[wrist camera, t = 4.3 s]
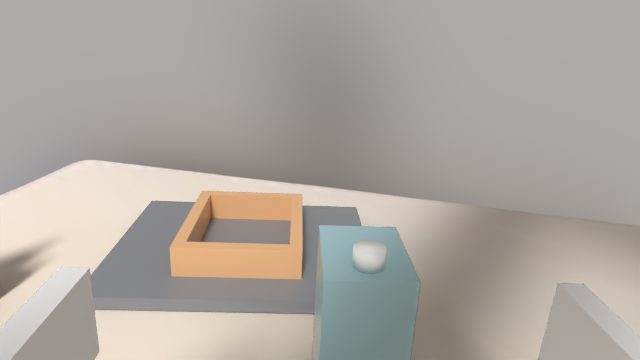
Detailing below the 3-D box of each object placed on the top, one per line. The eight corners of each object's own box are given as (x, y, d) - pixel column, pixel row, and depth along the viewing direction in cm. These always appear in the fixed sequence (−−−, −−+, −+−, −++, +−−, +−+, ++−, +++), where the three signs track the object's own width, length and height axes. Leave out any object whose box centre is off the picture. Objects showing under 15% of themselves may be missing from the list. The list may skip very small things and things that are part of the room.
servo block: (381, 352, 30) (397, 211, 27) (400, 430, 24) (423, 263, 21) (312, 351, 30) (320, 209, 26) (314, 430, 24) (325, 261, 21)
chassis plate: (355, 215, 51) (357, 185, 50) (382, 315, 34) (387, 273, 33) (152, 209, 50) (150, 178, 48) (74, 309, 33) (68, 265, 31)
